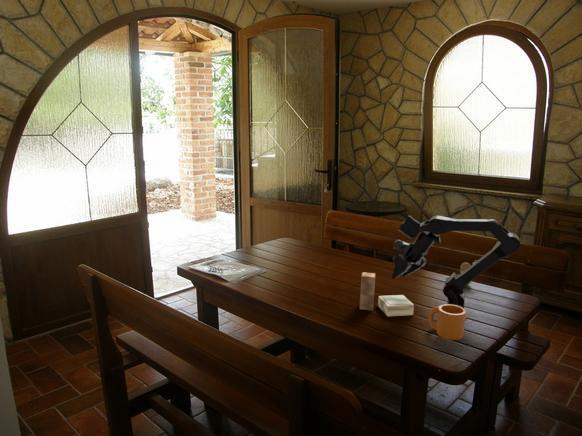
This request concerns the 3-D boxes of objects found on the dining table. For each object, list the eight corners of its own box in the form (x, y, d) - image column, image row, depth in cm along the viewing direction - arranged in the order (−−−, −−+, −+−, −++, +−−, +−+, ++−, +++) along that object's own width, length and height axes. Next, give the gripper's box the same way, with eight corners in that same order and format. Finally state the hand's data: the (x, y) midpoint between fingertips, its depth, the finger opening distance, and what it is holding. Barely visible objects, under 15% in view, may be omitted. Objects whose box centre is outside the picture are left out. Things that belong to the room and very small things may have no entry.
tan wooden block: (373, 305, 184) (375, 273, 181) (372, 310, 179) (375, 277, 176) (360, 304, 185) (362, 271, 182) (359, 309, 180) (361, 276, 177)
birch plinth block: (413, 315, 176) (414, 304, 175) (387, 316, 174) (388, 305, 173) (402, 304, 186) (403, 294, 185) (377, 305, 184) (378, 295, 183)
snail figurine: (474, 288, 205) (477, 261, 203) (458, 286, 207) (461, 260, 204) (472, 284, 211) (475, 258, 208) (457, 282, 212) (459, 256, 209)
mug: (436, 322, 170) (439, 299, 168) (468, 334, 161) (471, 309, 159) (422, 330, 164) (425, 305, 162) (455, 342, 155) (457, 317, 153)
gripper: (414, 231, 187) (392, 262, 192) (394, 232, 172) (370, 265, 178) (437, 249, 181) (413, 280, 187) (417, 252, 166) (392, 285, 172)
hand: (397, 277), depth 181 cm, fingers open, 9 cm apart
